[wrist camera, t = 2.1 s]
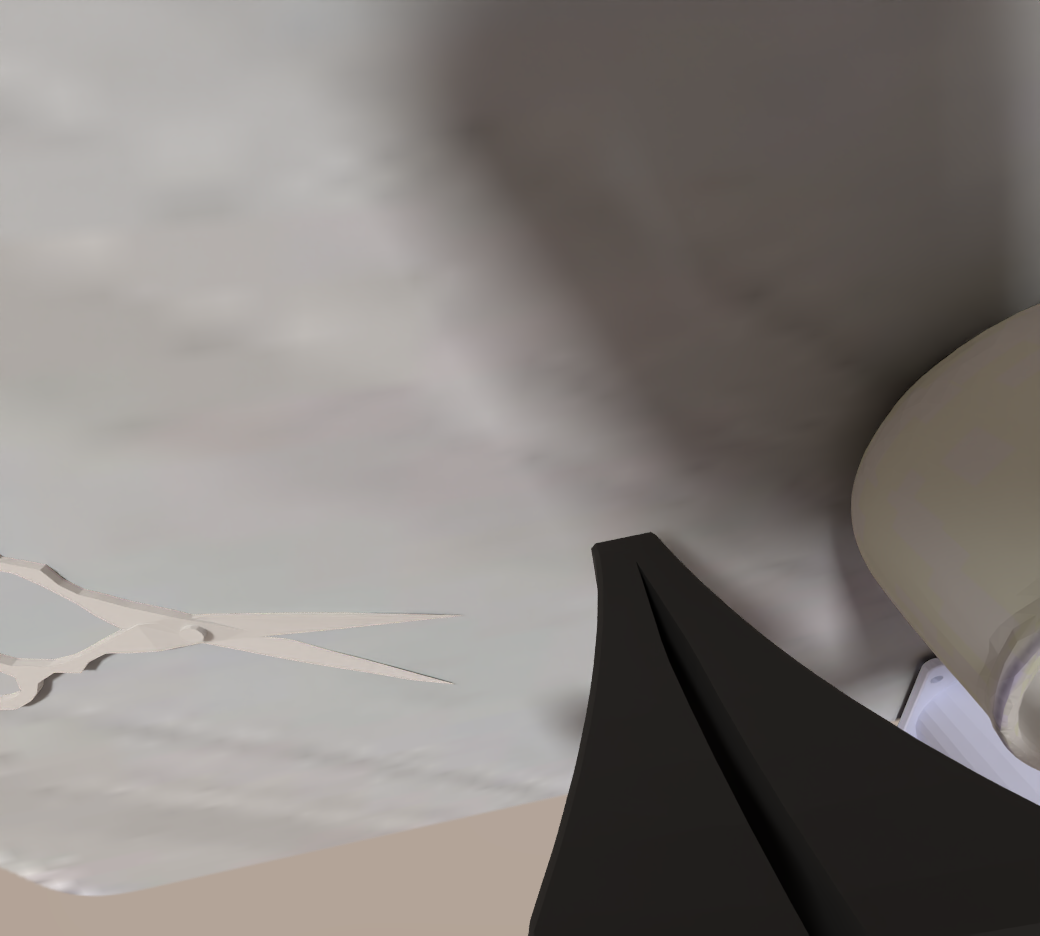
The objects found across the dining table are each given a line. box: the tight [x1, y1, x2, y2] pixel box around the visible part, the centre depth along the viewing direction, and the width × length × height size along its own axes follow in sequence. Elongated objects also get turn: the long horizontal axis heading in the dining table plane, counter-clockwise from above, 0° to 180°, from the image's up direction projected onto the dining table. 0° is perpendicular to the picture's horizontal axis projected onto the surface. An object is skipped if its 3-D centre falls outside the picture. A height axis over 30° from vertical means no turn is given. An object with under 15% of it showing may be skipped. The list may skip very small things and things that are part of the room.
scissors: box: [0, 555, 463, 710], centre depth 17 cm, size 11×1×20 cm
